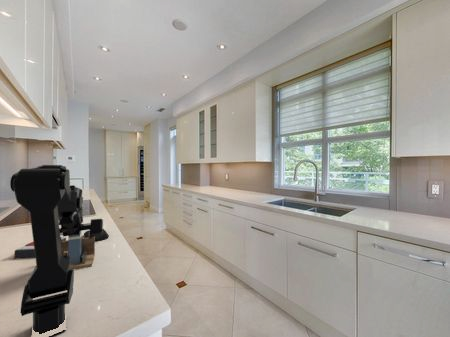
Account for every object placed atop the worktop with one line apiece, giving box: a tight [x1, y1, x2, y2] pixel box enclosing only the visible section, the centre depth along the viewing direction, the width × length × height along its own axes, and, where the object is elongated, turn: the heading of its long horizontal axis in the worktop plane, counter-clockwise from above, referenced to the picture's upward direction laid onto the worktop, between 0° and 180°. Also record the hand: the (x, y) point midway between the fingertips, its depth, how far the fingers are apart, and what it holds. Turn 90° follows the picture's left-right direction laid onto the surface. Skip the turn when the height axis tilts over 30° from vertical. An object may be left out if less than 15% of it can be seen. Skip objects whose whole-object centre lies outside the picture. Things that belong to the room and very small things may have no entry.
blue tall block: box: [67, 231, 82, 264], centre depth 77 cm, size 4×4×12 cm
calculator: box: [14, 236, 67, 260], centre depth 89 cm, size 11×4×15 cm
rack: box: [61, 237, 96, 271], centre depth 77 cm, size 11×14×8 cm
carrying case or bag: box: [83, 228, 110, 243], centre depth 105 cm, size 11×3×15 cm
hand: (75, 240), depth 78 cm, fingers open, 9 cm apart
